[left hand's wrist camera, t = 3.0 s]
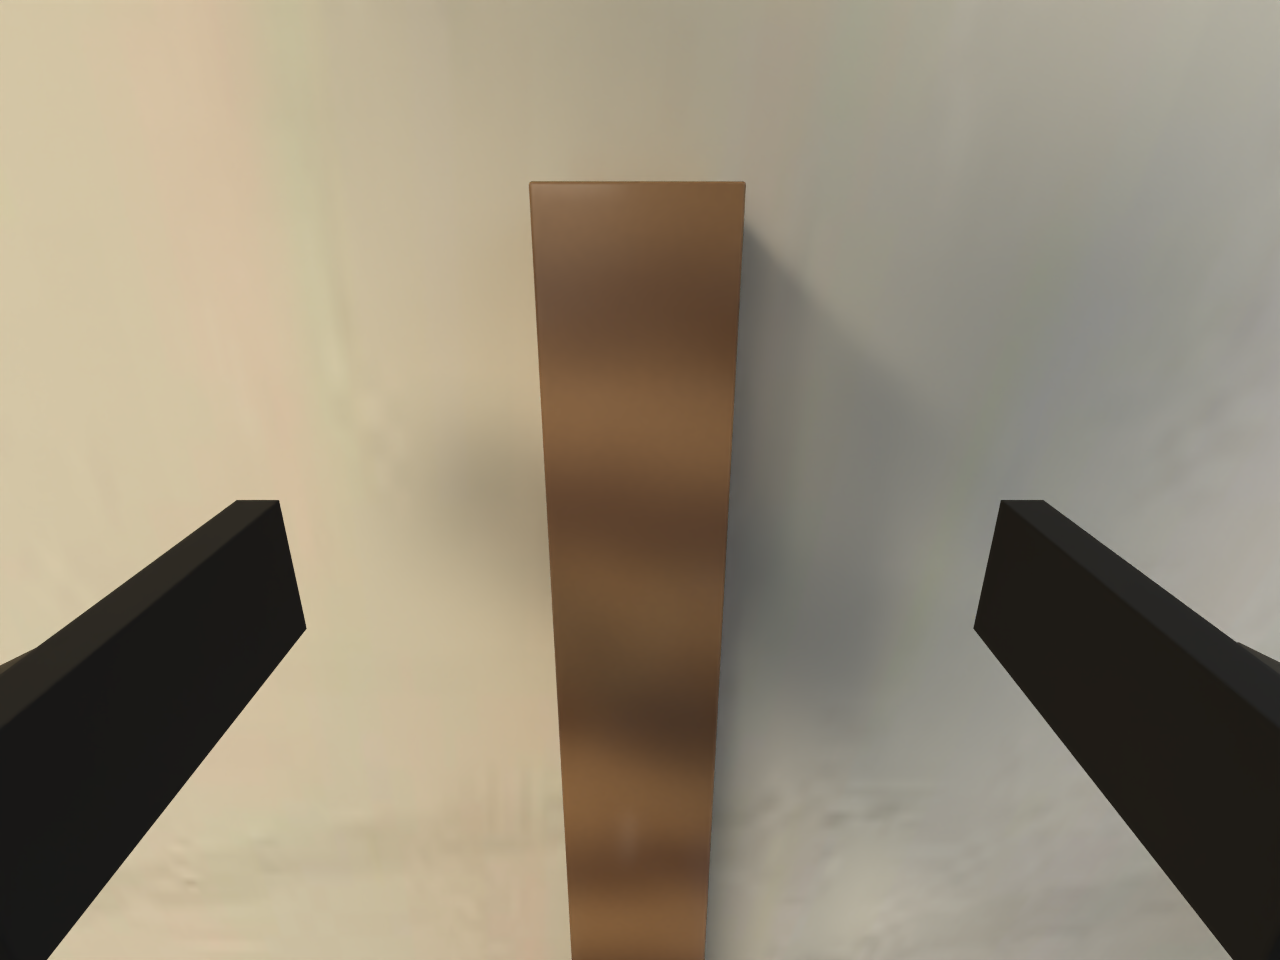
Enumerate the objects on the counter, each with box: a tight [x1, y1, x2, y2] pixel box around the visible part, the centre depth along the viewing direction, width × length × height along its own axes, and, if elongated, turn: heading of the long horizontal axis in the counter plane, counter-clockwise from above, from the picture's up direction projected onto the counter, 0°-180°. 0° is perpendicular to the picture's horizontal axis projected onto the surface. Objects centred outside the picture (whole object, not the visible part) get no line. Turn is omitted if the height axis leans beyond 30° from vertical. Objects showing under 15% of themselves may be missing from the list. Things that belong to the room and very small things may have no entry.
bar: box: [529, 181, 746, 960], centre depth 28 cm, size 52×5×8 cm, turn 0°
